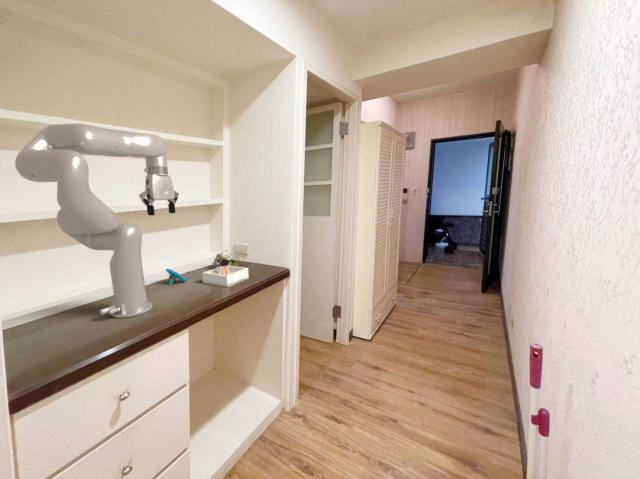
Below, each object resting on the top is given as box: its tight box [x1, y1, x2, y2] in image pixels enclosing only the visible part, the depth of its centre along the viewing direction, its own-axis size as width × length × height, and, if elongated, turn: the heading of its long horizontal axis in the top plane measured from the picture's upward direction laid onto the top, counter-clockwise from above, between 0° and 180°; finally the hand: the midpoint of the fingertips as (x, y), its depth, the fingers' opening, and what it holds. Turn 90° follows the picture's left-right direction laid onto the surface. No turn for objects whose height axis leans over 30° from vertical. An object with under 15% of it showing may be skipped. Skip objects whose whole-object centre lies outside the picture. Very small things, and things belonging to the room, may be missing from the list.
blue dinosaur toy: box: [165, 268, 188, 286], centre depth 137 cm, size 11×6×10 cm
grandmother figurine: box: [219, 251, 231, 275], centre depth 139 cm, size 8×4×13 cm, turn 170°
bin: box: [201, 265, 250, 288], centre depth 140 cm, size 14×14×5 cm
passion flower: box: [211, 249, 240, 268], centre depth 160 cm, size 11×11×12 cm
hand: (162, 214), depth 125 cm, fingers open, 9 cm apart
